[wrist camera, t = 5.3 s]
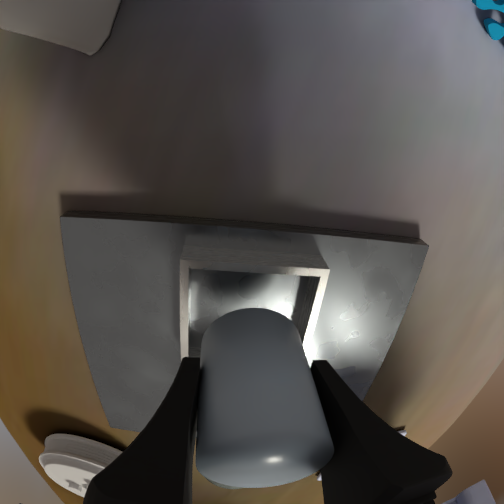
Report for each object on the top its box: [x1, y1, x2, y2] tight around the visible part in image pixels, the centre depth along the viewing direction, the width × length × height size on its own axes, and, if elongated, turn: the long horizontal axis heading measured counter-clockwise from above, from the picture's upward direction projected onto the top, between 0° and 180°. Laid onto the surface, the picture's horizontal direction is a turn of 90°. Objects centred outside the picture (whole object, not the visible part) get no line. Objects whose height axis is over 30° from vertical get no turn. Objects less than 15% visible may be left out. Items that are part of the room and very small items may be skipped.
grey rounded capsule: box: [196, 308, 334, 488], centre depth 11 cm, size 4×4×6 cm
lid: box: [39, 434, 122, 497], centre depth 24 cm, size 13×13×5 cm
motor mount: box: [60, 211, 429, 489], centre depth 17 cm, size 18×20×6 cm
